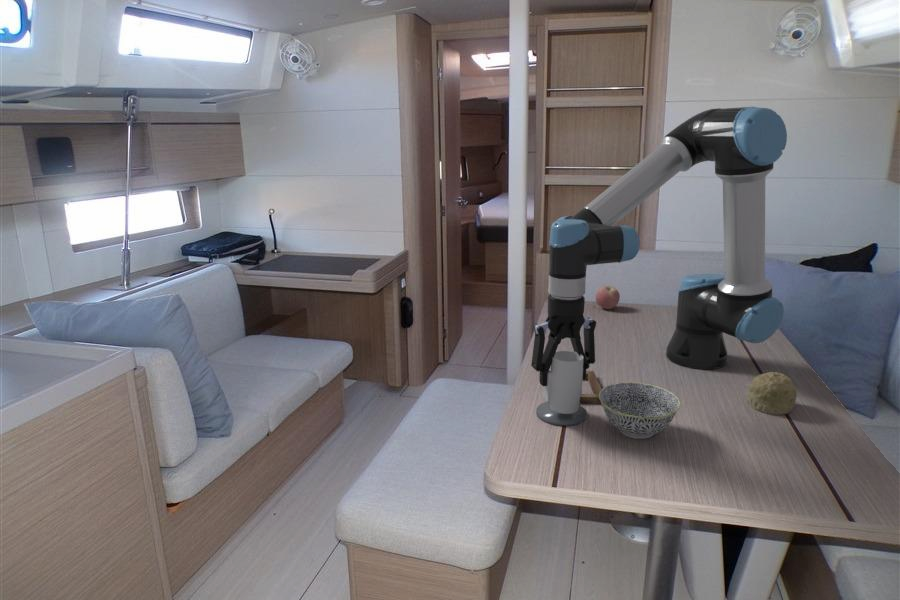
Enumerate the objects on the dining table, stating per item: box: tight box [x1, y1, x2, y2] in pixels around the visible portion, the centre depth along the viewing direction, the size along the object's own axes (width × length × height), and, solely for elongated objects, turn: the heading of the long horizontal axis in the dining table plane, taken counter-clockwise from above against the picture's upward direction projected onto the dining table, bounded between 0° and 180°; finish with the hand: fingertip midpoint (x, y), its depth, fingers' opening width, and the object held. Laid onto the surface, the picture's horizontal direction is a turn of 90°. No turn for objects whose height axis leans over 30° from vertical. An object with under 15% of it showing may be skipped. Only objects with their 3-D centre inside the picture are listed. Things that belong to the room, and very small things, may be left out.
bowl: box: [599, 381, 681, 440], centre depth 123 cm, size 16×16×8 cm
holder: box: [549, 370, 603, 404], centre depth 144 cm, size 12×15×2 cm
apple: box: [595, 285, 620, 310], centre depth 204 cm, size 8×8×8 cm
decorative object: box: [746, 371, 798, 416], centre depth 133 cm, size 9×10×10 cm
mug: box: [550, 349, 584, 414], centre depth 130 cm, size 10×7×12 cm, turn 175°
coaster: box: [535, 401, 588, 427], centre depth 132 cm, size 11×11×1 cm
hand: (562, 396), depth 131 cm, fingers closed on mug, 7 cm apart
